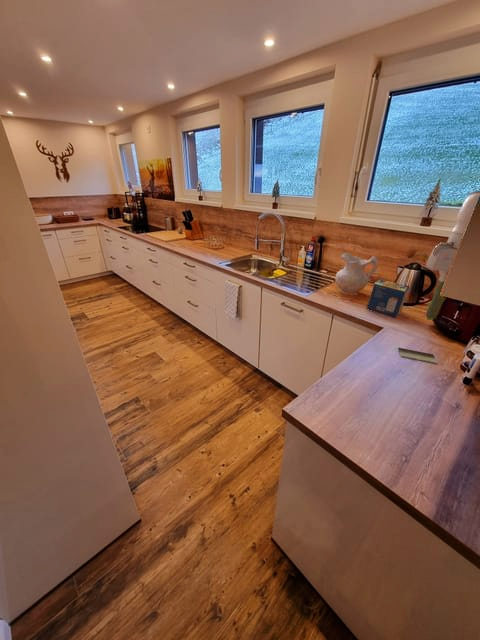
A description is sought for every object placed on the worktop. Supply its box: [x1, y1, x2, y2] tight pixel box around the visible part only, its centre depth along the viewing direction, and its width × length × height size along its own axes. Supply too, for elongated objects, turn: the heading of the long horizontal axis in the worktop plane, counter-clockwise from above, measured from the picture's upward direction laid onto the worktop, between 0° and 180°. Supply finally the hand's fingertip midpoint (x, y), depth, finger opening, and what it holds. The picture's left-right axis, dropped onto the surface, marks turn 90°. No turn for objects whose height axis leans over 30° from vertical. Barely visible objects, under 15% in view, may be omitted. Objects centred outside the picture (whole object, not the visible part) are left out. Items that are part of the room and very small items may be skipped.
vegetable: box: [425, 273, 448, 321], centre depth 98 cm, size 4×4×20 cm
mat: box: [397, 347, 438, 365], centre depth 110 cm, size 13×11×1 cm
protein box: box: [366, 278, 410, 319], centre depth 142 cm, size 10×15×16 cm
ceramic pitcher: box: [335, 252, 379, 296], centre depth 164 cm, size 22×20×25 cm
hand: (446, 281), depth 95 cm, fingers closed on vegetable, 3 cm apart
